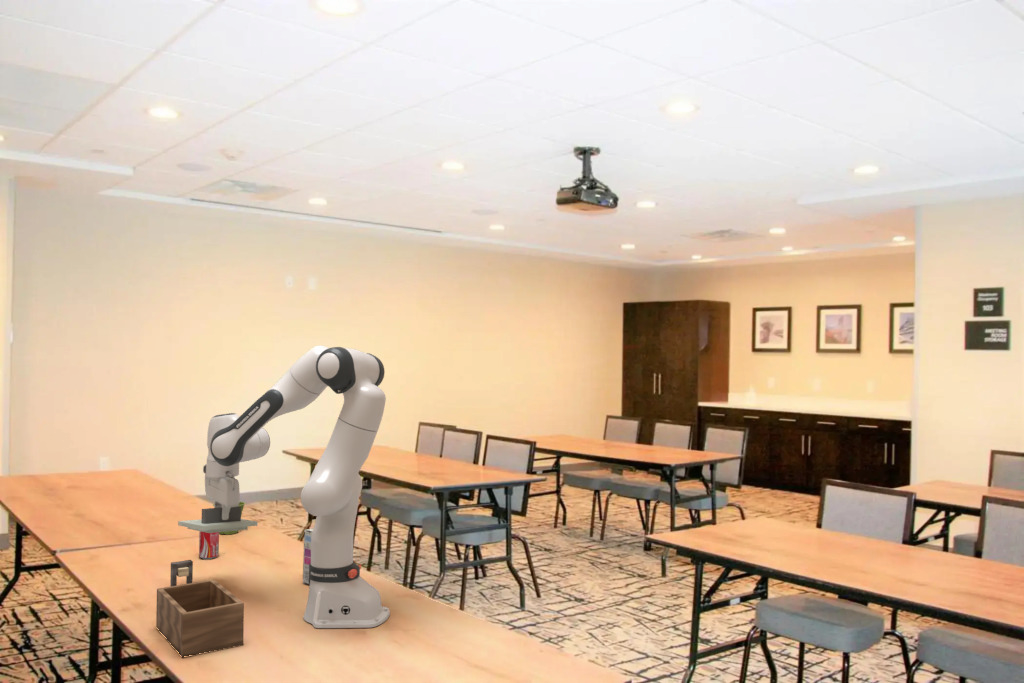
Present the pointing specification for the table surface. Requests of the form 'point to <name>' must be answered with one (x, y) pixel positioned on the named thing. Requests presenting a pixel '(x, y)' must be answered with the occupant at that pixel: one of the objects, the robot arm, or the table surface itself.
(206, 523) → the lid
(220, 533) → the plant pot
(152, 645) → the table surface
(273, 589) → the table surface
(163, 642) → the table surface
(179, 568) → the light wooden beam
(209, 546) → the soda can
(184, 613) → the toolbox
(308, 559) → the candy bar box
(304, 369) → the robot arm
